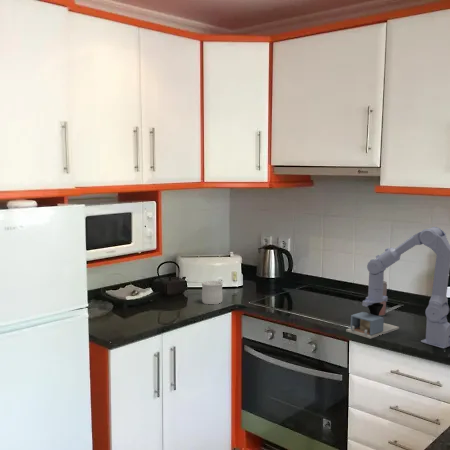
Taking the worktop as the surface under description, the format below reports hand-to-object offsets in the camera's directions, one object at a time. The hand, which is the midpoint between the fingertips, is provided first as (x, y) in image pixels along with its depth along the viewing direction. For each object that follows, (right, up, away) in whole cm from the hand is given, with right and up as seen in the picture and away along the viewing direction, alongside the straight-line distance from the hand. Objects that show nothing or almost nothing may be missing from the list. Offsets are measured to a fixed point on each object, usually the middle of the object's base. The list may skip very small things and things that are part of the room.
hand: (374, 320), depth 222 cm
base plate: (0, -4, 0) cm, 4 cm away
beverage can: (+8, -1, +23) cm, 25 cm away
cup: (-67, +1, +40) cm, 78 cm away
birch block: (-3, -3, -2) cm, 5 cm away
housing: (-4, -3, -3) cm, 6 cm away
